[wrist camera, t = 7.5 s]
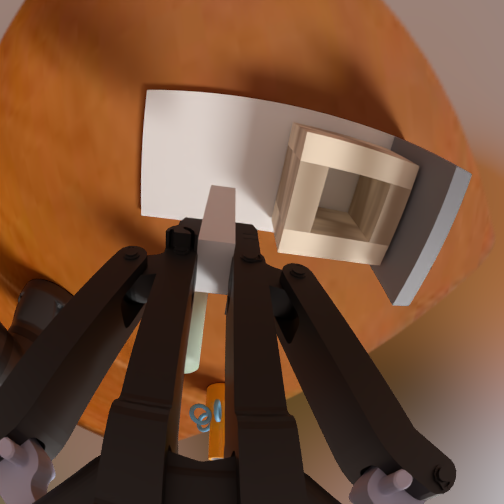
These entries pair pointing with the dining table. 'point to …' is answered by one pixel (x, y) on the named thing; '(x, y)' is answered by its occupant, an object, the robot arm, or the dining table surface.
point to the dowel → (196, 332)
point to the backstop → (270, 169)
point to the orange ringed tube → (213, 419)
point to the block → (362, 205)
